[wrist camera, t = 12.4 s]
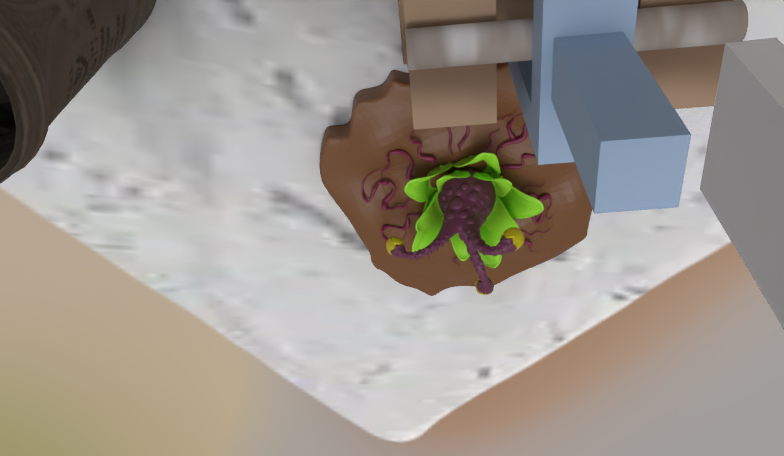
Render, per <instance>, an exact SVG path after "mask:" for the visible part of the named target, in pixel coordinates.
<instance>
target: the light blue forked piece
mask: <svg viewBox="0 0 784 456" xmlns="http://www.w3.org/2000/svg"><path fill="white" fill-rule="evenodd" d="M637 7H638V0H534V10H533V50H532V60H529V61H517V62H508V67H509V70H510V74H511V77H512V80H513V84H514V87H515V90H516V93H517V97H518V100H519V103H520V107H521V110H522V113H523V117H524V120H525V123H526V127H527V130H528V133H529V137H530V140H531V143H532V146H533V150H534V153H535V156H536V160H537V163H538V165H543V164H555V163H568V162H575V164H576V167H577V169H578V172H579V175H580V177H581V180H582V182H583V185H584V188H585V190H586V193H587V196H588V198H589V201H590V203H591V206H592V209H593V211H594V213H606V212H620V211H633V210H647V209H661V208H674V207H679V201H680V195H681V189H682V184H683V178H684V172H685V167H686V161H687V155H688V149H689V144H690V138H691V134H690V132H689V131H688V129H687V128H686V126H685V124H684V123H683V121H682V120H681V118H680V117H679V115H678V114H677V112H676V111H675V109H674V108H673V106H672V105H671V103H670V102H669V100H668V99H667V97H666V96H665V94H664V93H663V91H662V90H661V88H660V87H659V85H658V84H657V82H656V81H655V79H654V77H653V76H652V74H651V73H650V71H649V70H648V68H647V67H646V65H645V64H644V62H643V61H642V59H641V58H640V56H639V55H638V53H637V52H636V50H635V49H634V47H633V43H634V34H635V25H636V16H637Z"/></svg>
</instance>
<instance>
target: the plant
mask: <svg viewBox="0 0 784 456" xmlns="http://www.w3.org/2000/svg"><path fill="white" fill-rule="evenodd" d="M496 65H497V123H491V124H479V125H466V126H453V127H441V128H428V129H416V130H414V127H413V114H412V102H411V90H410V78H409V73H404V72H400V71H396V70H393V71H391V73H390V75H389V77H388V78H387V80H386V81H385V82H384V83H383V84H381V85H380V86H377V87H373V88H368V89H363V90H361V91H359V92H358V93H357V94H356V95H355V98H354V101H353V109H352V117H351V120H350V121H349V122H348V123H347V124H345V125H336V126H330V127H328V128H327V129H326V130H325V133H324V137H323V141H322V146H321V152H320V174H321V178H322V181H323V184H324V186H325V187H326V189H327V190H328V192H329V194H330V195H331V196H332V198H333V199H334V200H335V202H336V203H337V204H338V206H339V207H340V208H341V210H342V211H343V212H344V214H345V215H346V216H347V217H348V219H349V220H350V222H351V224H352V225H353V227H354V229H355V230H356V232H357V234H358V235H359V237H360V238H361V240H362V241H363V243H364V244H365V246H366V247H367V249H368V250H369V252H370V255H371V261H372V263H373V265H374V266H375V267H376V268H377V269H380V270H382V271H384V272H385V273H387V274H388V275H389V276H390V277H391V278H393V279H394V280H395V281H397V282H399V283H400V284H403V285H405V286H409V287H412V288H416V289H418V290H420V291H422V292H425V293H426V294H428V295H430V296H433V295H436V294H437V293H439V292H440V291H442V290H444V289H446V288H450V287H454V286H475V287H476V290H477V292H478V293H479V294H482V295H487V294H490V293H492V291H493V288H494V285H496V284H498V283H500V282H501V281H503V280H505V279H507V278H509V277H511V276H513V275H515V274H517V273H519V272H522V271H524V270H526V269H529V268H531V267H534V266H536V265H539V264H541V263H543V262H545V261H548V260H550V259H552V258H554V257H556V256H558V255H559V254H561V253H563V252H565V251H566V250H568V249H569V248H571V247H572V246H574V245H575V244H577V243H579V242H580V241H582V240H583V239H584V238H585V237H586V235H587V230H588V225H589V220H590V215H591V212H592V206H591V203H590V201H589V198H588V196H587V193H586V190H585V188H584V185H583V182H582V180H581V177H580V175H579V172H578V169H577V167H576V164H575V162H568V163H555V164H543V165H538V163H537V160H536V156H535V153H534V150H533V146H532V143H531V140H530V137H529V133H528V130H527V127H526V123H525V120H524V117H523V113H522V110H521V107H520V103H519V100H518V97H517V93H516V90H515V87H514V84H513V80H512V77H511V74H510V70H509V67H508V62H505V63H496Z"/></svg>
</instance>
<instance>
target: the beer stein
mask: <svg viewBox="0 0 784 456" xmlns="http://www.w3.org/2000/svg"><path fill="white" fill-rule="evenodd" d="M155 2H156V0H0V183H2V182H3V181H5V180H6V179H7V178H9V177H10V176H11V175H12V174H14V173H15V172H17V171H19V170H20V169H22V168H24V167H25V166H26V165H27V164H28V163H29V162H30V161H31V160H32V159H33V158H34V157H35V156H36V154H37V152H38V151H39V149H40V147H41V146H42V144H43V142H44V140H45V137H46V134H47V131H48V126H49V125H50V124H51V123H52V122H53V120H54V119H55V118H56V117H57V116H58V114H59V113H60V112H61V111H62V110H63V109H64V108H65V107H66V105H67V104H68V103H69V102H70V101H71V100H72V99H73V98H74V97H75V95H76V94H77V93H78V92H79V91H80V90H81V89H82V88H83V87H84V85H85V84H86V83H87V82H88V81H89V80H90V79H91V78H92V77H93V76H94V75H95V74H96V72H97V71H98V70H99V69H100V68H101V67H102V65H103V64H104V63H105V62H106V61H107V60H108V58H110V57H111V56H112V55H113V54H114V53H115V52H117V51H118V50H119V49H121V48H122V47H123V46H124V45H125V44H126V43H127V42H128V41H129V40H130V38H131V37H132V36H133V35H134V34H135V32H136V31H138V30H139V29H140V28H141V27H142V26H143V24H144V23H145V22H146V20H147V19H148V17H149V16H150V14H151V12H152V10H153V7H154V5H155Z"/></svg>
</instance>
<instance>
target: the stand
mask: <svg viewBox="0 0 784 456" xmlns="http://www.w3.org/2000/svg"><path fill="white" fill-rule="evenodd" d="M398 4H399V16H400V28H401V39H402V51H403V62H404V64H408V71H409V78H410V90H411V102H412V114H413V127H414V130H416V129H428V128H441V127H453V126H466V125H479V124H491V123H497V65H496V63H505V62H517V61H529V60H532V50H533V10H534V0H398ZM747 27H748V11H747V7H746V5H745V3H744V2H743V1H742V0H638V7H637V16H636V25H635V34H634V43H633V47H634V49H635V50H636V52H637V53H638V55H639V56H640V58H641V59H642V61H643V62H644V64H645V65H646V67H647V68H648V70H649V71H650V73H651V74H652V76H653V77H654V79H655V81H656V82H657V84H658V85H659V87H660V88H661V90H662V91H663V93H664V94H665V96H666V97H667V99H668V100H669V102H670V103H671V105H672V106H673V108H674V109H680V108H693V107H705V106H714V103H715V97H716V92H717V87H718V82H719V76H720V70H721V64H722V59H723V53H724V47H725V43H732V42H741V41H742V40H743V39H744V37H745V35H746V32H747Z"/></svg>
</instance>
